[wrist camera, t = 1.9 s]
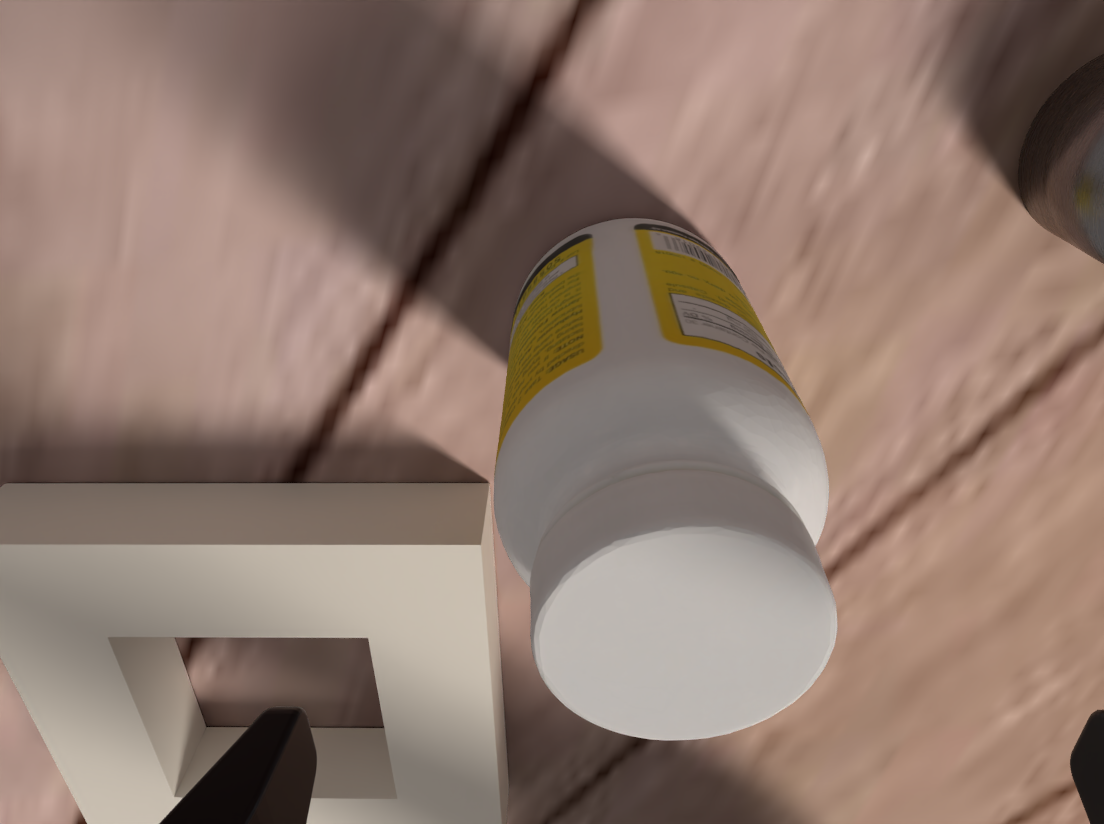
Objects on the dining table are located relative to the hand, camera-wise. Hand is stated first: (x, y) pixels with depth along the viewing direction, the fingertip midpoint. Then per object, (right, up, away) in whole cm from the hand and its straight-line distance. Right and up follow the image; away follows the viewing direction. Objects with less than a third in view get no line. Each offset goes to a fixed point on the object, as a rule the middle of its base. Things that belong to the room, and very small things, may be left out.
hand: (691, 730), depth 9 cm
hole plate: (-10, -4, +15) cm, 18 cm away
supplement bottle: (0, +6, +10) cm, 11 cm away
